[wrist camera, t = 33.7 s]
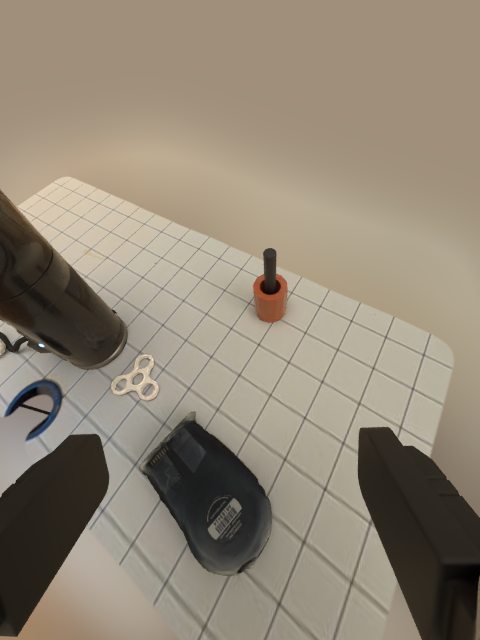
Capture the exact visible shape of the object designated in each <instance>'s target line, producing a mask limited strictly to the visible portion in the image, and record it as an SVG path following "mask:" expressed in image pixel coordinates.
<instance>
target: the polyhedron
mask: <svg viewBox="0 0 480 640" xmlns="http://www.w3.org/2000/svg"><path fill="white" fill-rule="evenodd" d="M5 348H6V345H5V344H4V342H3V341H1V340H0V355H1V354H3V353H4V352H5Z"/></svg>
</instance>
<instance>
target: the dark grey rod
mask: <svg viewBox="0 0 480 640" xmlns="http://www.w3.org/2000/svg"><path fill="white" fill-rule="evenodd" d="M263 256H264V279H265V294H267V295H274V294H276V251H275V250H274V249H272V248H268V249H266V250H265V251H264V253H263Z"/></svg>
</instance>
